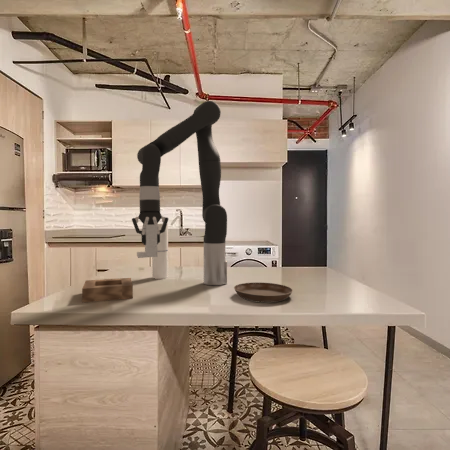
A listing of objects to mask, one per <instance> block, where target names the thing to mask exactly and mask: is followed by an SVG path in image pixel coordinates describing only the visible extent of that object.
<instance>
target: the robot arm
mask: <svg viewBox="0 0 450 450" xmlns="http://www.w3.org/2000/svg"><path fill="white" fill-rule="evenodd" d="M221 114H222V113H221V108H220V106H219V104H218V103H216V102H215V101H213V100H207V101H204V102H202V103H201V104H199V105H198V106H197V107H196V108H195V109H194V111H193V114H191V115H189V117H187V118H186V119H184V120H182V121H181V122H179V123H178V124H175V125H174V126H172V127H171V128H169V129H167V130H166V131H164V132H163V133H162V134H160V135H159V136H158V137H157V138H155V139H154V140H152V141H151V142H149V143H148V144H146V145H144V146H143V147H141V148H139V150H138V151H137V154H136V157H137V158H136V159H137V161H138V162H139V163H140V164H141V166H142V169H141V172H140V173H139V197H138V199H139V214H138V216H136V217H133V218H131V222H132V225H133V227H134V230H135V232H136V233H137V234H139V235H141V243H142V244H143V246H145V245H146V235H145V229H146V227H145V225H157V244H158V243H160V234H161V233H163V232H165V229H166V225H167V223H168V222H169V217H166V216H163V215H162V213H161V193H160V182H159V181H160V177H159V175H160V174H159V173H160V169H161V160H162V157H164V155H166V154H168V153H170V152H172V151H174V150H175V149H176V148H178V147H179V146H180V145H182V143H184V142H185V141H187V140H188V139H190V137H191V136H193V135H194V134H195V136H196V145H197V157H198V158H197V159H198V171H199V180H200V185H201V191H202V195H201V196H202V215H201V216H202V221H203V222H204V235H203V284H204V285H206V286H207V285H208V286H221V285H226V284H228V261H227V260H226V238H227V235H228V214H227V211H226V208H224V206H222V205H221V200H220V187H221V186H220V185H221V181H222V179H221V178H222V165H221V163H222V162H221V157H220V153H219V151H218V149H217V147H216V145H215V143H214V140H213V130H212V129H213V128H212V126H213V125H214V124H216V123H217V122H218V120H219V119H221V118H220V117H221ZM160 220H161V221H160ZM139 221H140V222H141V223H142V228H141V230H140V228H139V224H138V223H139ZM159 222H161V223H163V225H162V228H161V230H159V227H158V223H159Z"/></svg>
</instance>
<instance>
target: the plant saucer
mask: <svg viewBox="0 0 450 450" xmlns="http://www.w3.org/2000/svg"><path fill="white" fill-rule="evenodd" d="M233 289H234V291H235V293H236V294H237V295H238V296H239V297H240V298H242V299H243V300H246V301H250V302H256V303H279V302H282V301H285V300H286V299H288V298H289V297H290V296H291V294H292V293H293V292H294V290H293V288H291V287H290V286H286V285H285V284H278V283H272V282H245V283H239V284H237V285H235V286H234V287H233Z"/></svg>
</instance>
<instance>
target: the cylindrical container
mask: <svg viewBox="0 0 450 450" xmlns="http://www.w3.org/2000/svg"><path fill="white" fill-rule="evenodd" d="M162 225H163V222H161V223H159V222H158V227H159V230H161V228H162ZM157 254H158V257H151V258H152V259H151V260H152V261H151V262H152V264H151V265H152V266H151V267H152V270H151V271H152V272H151V274H152V276H151V277H152V279H153V278H155V280H165V279H164V278H166V279H169V223H168V222H167V225H166V229H165V232H163V233H161V234H160V243H158V244H157Z"/></svg>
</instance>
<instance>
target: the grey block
mask: <svg viewBox="0 0 450 450" xmlns="http://www.w3.org/2000/svg"><path fill="white" fill-rule="evenodd" d="M145 227H146V229H145V235H146V245H144V251H137V252H136V256H137V258H138V259H144V258H145V259H146V258H152V257H158V254H157V225H145Z"/></svg>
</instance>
